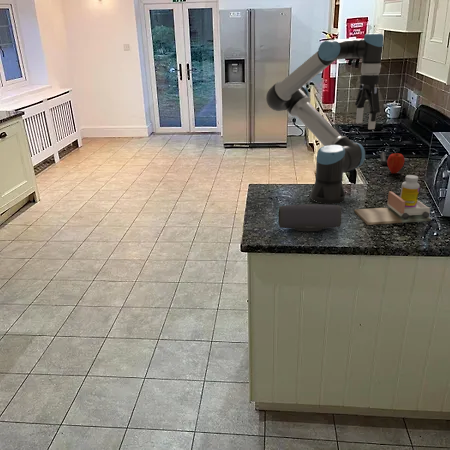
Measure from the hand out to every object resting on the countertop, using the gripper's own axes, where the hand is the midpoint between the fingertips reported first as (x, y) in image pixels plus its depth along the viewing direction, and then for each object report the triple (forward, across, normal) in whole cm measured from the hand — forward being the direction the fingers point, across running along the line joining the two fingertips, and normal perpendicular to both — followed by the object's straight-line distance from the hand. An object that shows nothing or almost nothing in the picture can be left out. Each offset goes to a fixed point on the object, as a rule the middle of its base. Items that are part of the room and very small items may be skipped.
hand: (364, 126), depth 193 cm
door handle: (+32, +50, -41) cm, 72 cm away
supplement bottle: (+28, -26, -10) cm, 40 cm away
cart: (+30, -26, -11) cm, 41 cm away
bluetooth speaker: (+32, -33, +33) cm, 57 cm away
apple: (+32, +29, -31) cm, 53 cm away
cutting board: (+32, -26, -4) cm, 41 cm away
